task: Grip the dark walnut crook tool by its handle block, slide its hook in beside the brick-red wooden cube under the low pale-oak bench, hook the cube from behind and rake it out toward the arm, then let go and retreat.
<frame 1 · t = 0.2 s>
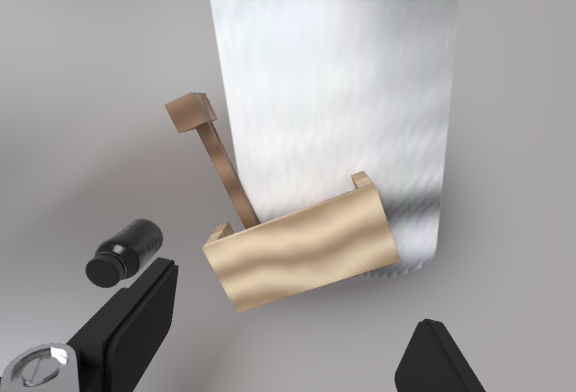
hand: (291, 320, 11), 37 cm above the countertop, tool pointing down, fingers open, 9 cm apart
crook: (199, 111, 45), on the countertop
supplement bottle: (146, 234, 52), on the countertop
low bench: (300, 230, 50), on the countertop
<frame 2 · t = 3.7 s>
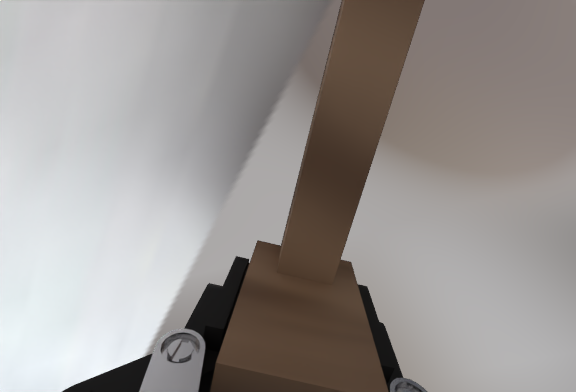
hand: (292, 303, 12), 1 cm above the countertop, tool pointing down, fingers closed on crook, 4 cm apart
crook: (293, 290, 13), on the countertop, touching gripper
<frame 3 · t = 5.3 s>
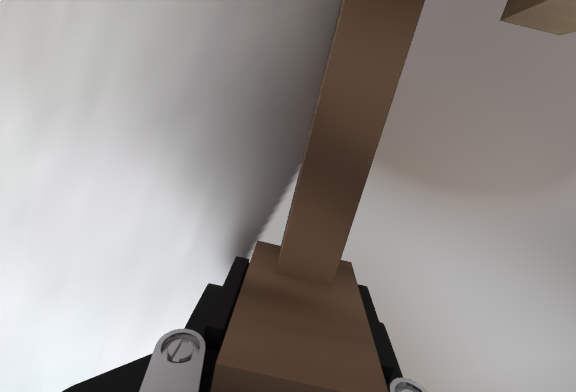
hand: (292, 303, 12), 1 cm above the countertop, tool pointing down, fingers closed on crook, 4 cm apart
crook: (293, 291, 13), on the countertop, touching gripper
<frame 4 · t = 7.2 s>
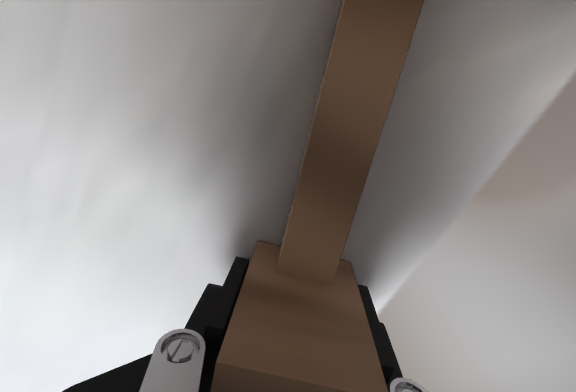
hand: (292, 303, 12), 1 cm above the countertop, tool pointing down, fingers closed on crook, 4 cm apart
crook: (293, 291, 13), on the countertop, touching gripper
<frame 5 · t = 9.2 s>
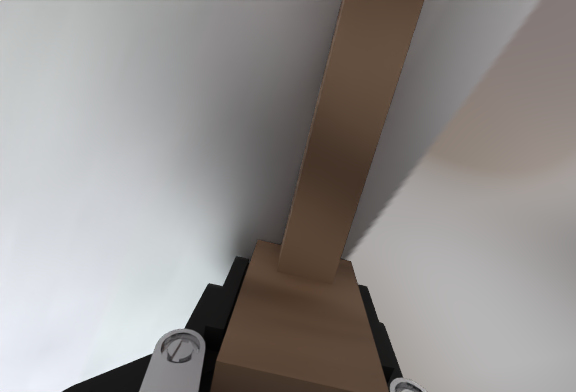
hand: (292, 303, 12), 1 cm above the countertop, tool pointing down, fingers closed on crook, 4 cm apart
crook: (293, 290, 13), on the countertop, touching cube, gripper
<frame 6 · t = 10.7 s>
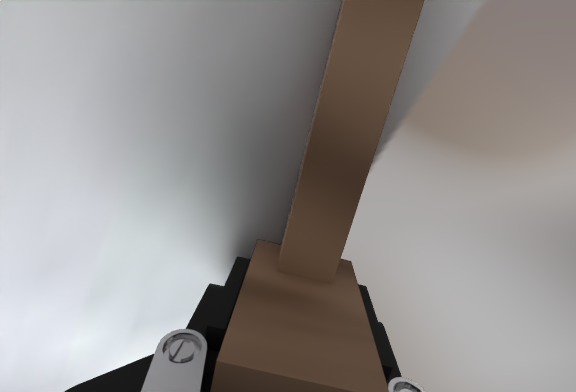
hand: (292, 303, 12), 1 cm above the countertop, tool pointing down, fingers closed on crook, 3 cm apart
crook: (293, 289, 13), on the countertop, touching gripper
when the fingers open (1 cm above the countertop, at t = 10.7 s): crook stays where it is, on the countertop.
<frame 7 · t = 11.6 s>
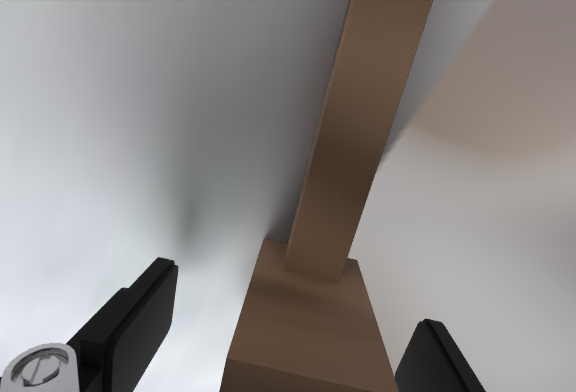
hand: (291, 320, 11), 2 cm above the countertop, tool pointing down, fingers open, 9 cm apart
crook: (299, 288, 13), on the countertop
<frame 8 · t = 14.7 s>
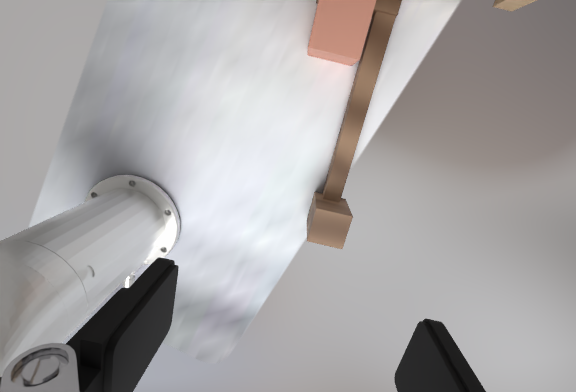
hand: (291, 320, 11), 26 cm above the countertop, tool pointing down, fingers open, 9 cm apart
crook: (325, 209, 38), on the countertop
cube: (335, 35, 32), on the countertop
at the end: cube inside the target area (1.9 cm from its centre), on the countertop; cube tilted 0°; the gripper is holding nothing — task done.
